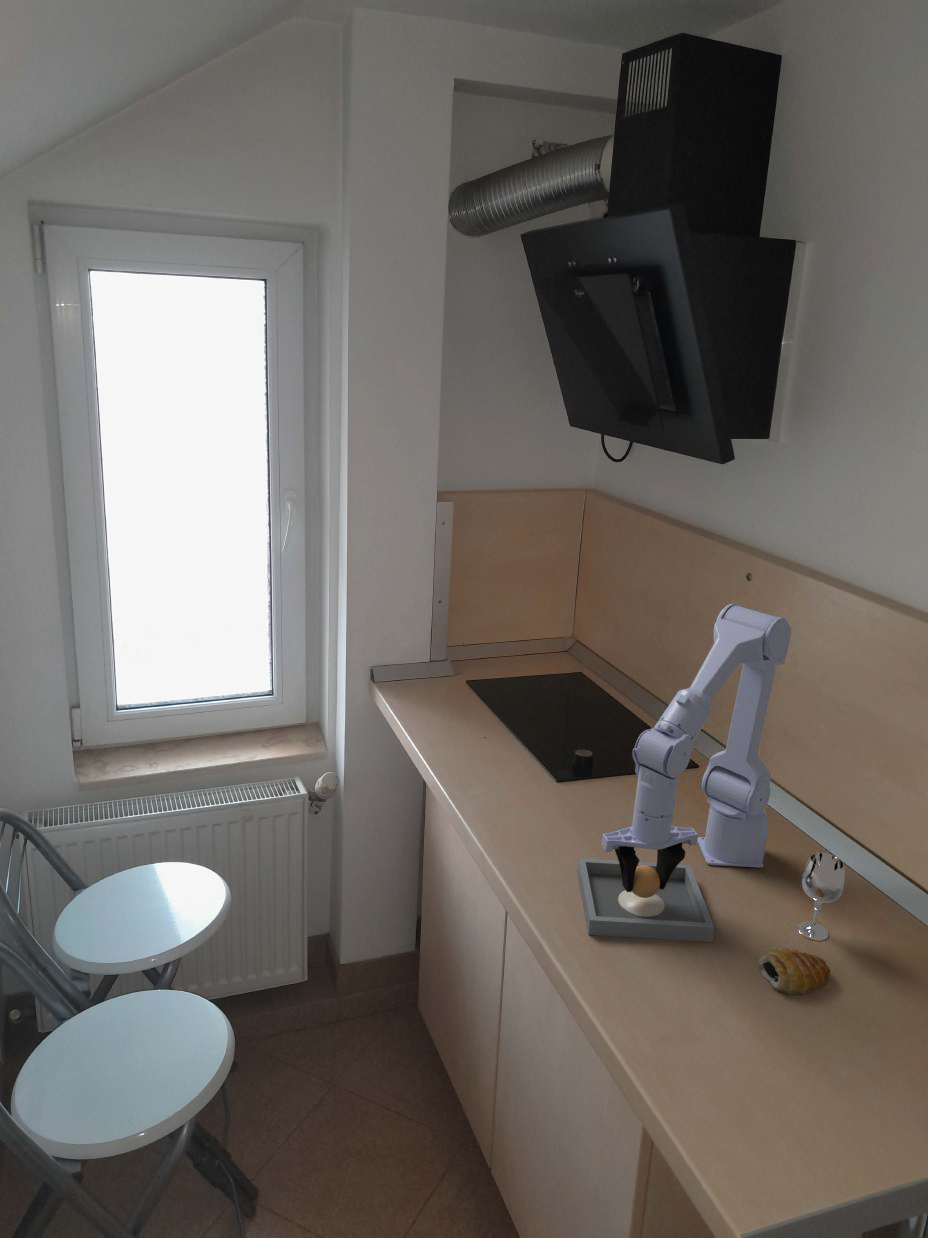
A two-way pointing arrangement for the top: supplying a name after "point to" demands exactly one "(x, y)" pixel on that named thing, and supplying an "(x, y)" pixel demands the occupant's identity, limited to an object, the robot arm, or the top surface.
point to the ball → (645, 881)
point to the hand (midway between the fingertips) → (643, 887)
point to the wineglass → (821, 889)
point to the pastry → (794, 971)
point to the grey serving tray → (643, 904)
